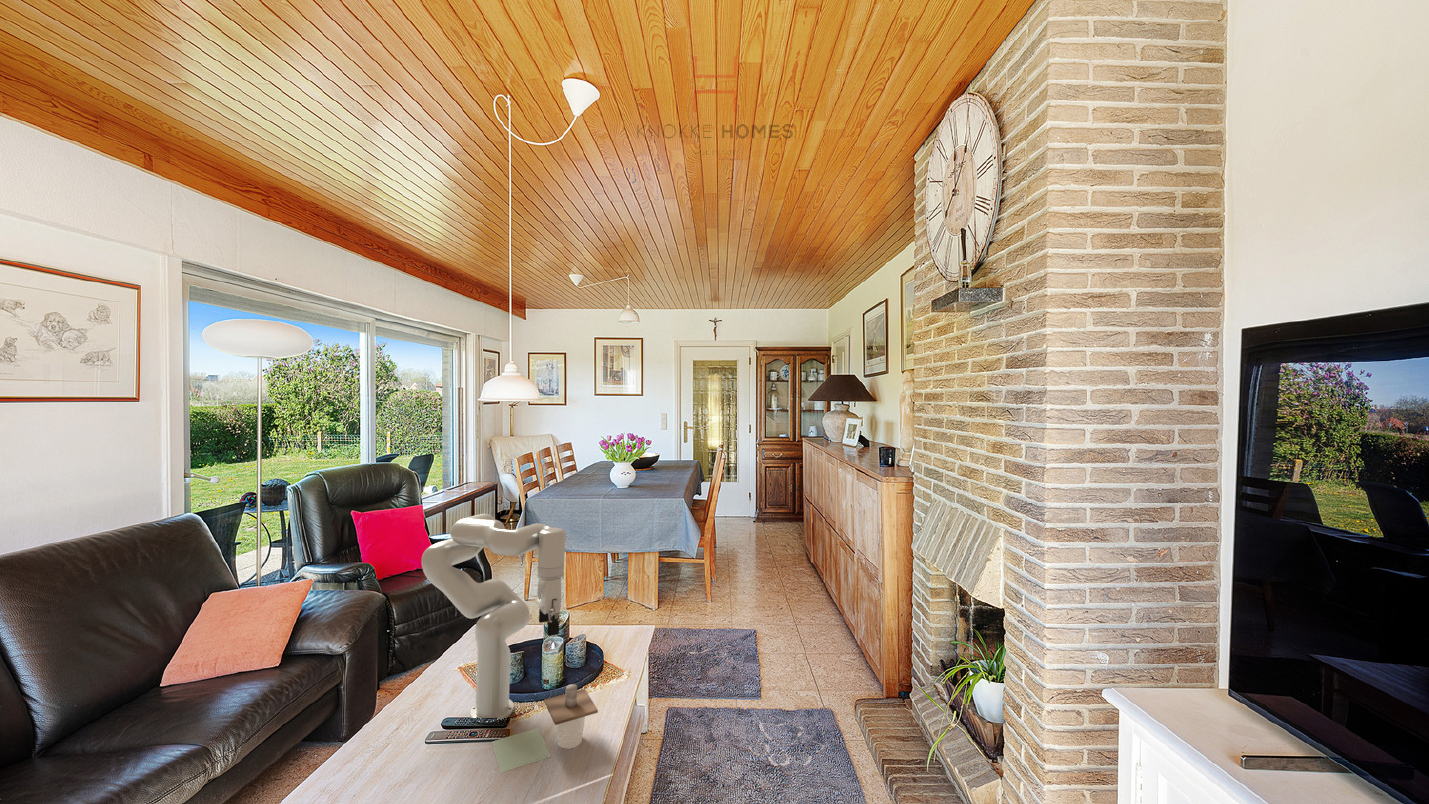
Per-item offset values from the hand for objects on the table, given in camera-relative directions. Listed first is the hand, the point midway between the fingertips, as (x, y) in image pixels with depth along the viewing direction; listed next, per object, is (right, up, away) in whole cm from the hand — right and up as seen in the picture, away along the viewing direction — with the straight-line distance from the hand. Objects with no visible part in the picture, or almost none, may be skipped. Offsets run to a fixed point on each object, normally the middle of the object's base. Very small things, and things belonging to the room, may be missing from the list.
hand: (548, 628), depth 154 cm
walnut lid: (+8, -21, -5) cm, 23 cm away
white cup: (+8, -31, -5) cm, 32 cm away
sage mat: (-5, -30, -9) cm, 32 cm away
